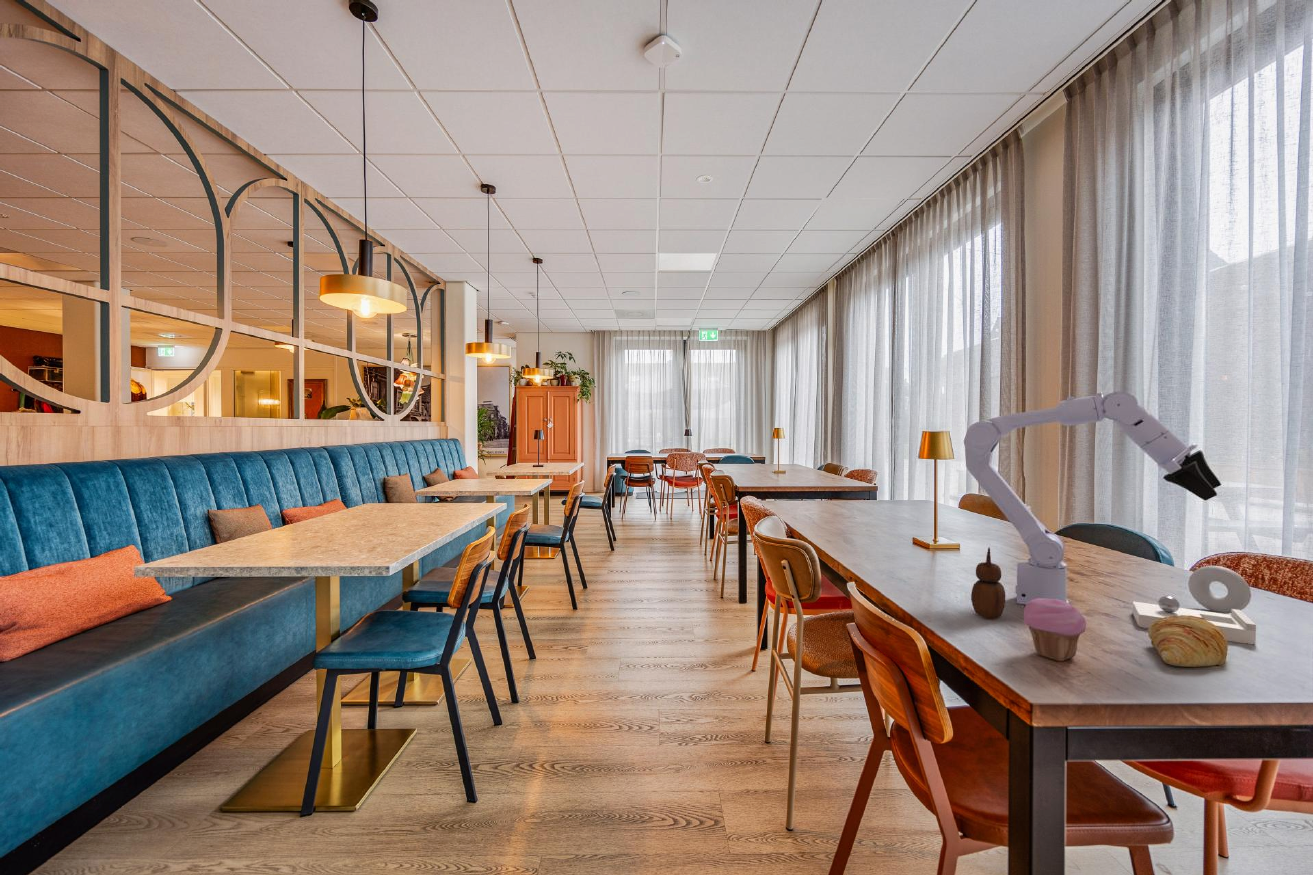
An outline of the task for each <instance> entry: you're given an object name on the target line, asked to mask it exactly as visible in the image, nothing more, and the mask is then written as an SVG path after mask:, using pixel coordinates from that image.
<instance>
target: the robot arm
mask: <svg viewBox="0 0 1313 875" xmlns="http://www.w3.org/2000/svg"><path fill="white" fill-rule="evenodd" d="M1105 419H1109V420H1111V421H1113V422H1114V423H1115V424H1116V425H1117V426H1118V427H1119V428H1120V429H1121V431H1122V433H1124V434H1125V435H1126V436H1127V437H1128V438H1129V439H1130V440H1131V441H1132V442H1134V443H1135V445H1136V446H1138V447H1139V448H1140V450H1142V451H1143V452H1144V453H1145V454H1147V456H1148V457H1150V458H1151V459H1152V460H1153V461H1154V462H1155V463H1156V464H1157V466H1158V467H1159V468H1160V469H1164V470H1165V471H1166V472H1167V474H1165V475H1163V480H1164V481H1166V482H1169V483H1172V484H1174V485H1177V486H1179V487H1181V488H1184V489H1185V490H1187V491H1189V492H1190V493H1192V494H1193V495H1194V496H1196V497H1198V498H1199V499H1201V500H1204V501H1208V500H1210V499H1212V498H1214V497H1216V496H1218V492H1216V490H1215V489H1216V488H1218V487H1220V486H1222V483H1221V481H1220V479H1219V478H1218V477H1217V476H1216V474H1215V473H1214V472H1213V470H1212V469H1211V468H1210V466H1209V465H1208V462H1207V460H1206V458H1205V455H1204V452H1203V451H1202V450H1197V451H1195V452H1194V453H1192V451H1193V450H1195V449H1197V447H1198V445H1197V444H1196V443H1192V444H1190V445H1187V444H1186V443H1184V442H1183V440H1181V439H1180V438H1179V437H1178V436H1176V434H1174V433H1173V432H1172V431H1171V430H1169V428H1167V426H1166V425H1164V424H1163V423H1162V422H1161V421H1160V420H1158V419H1157V418H1156V417H1155V416H1154V415H1153V414H1152V413H1150V412H1148V411H1147V410H1146V408H1144V407H1143V406H1141V405H1140V404H1139V402H1138V400H1137V398H1136V396H1135V395H1133V394H1130V393H1128V392H1125V391H1114V392H1113V391H1112V392H1109V393H1107V394H1105V395H1103V392H1096V394H1095V395H1090V396H1084V397H1077V398H1075V397H1074V396H1068V397H1066V400H1061V401H1059V402H1058V404H1057V405H1056V406H1055V407H1053V408H1046V409H1040V410H1032V411H1031V410H1030V411H1024V412H1017V413H1016V412H1015V413H1007V414H1003V415H1000V416H996V417H992V418H989V419H986V421H978V422H977V421H976V422H975V423H973V424H971V425H970V426H968V428H967V430H966V433H965V437H964V438H963V445H964V455H965V467H966V468H967V470H968V472H969V473H970V474H971V475H972V476H973V477H974V479H975V481H976V482H977V483H978V484H979V485H980V486H981V488H982V489H983V490H984V491H985V493H987V495H988V496H989V497H990V498H991V501H993V502H994V504H995V505H996V506H997V507H998V509H999V510H1000V511H1001V512H1002V514H1004V516H1005V517H1006V519H1007V520H1008V521H1009V522H1010V523H1011V524H1012V526H1013V527H1014V528H1015V529H1016V531H1017V532H1018V534H1019V536H1020V538H1021V539H1022V541H1023V542H1024V543H1025V545H1026V547H1027V549H1028V552H1029V556H1030V558H1028V559H1027V561H1025V562H1024V561H1017V564H1016V585H1015V594H1016V604H1019V605H1025V606H1026V605H1027V603H1028V602H1029V601H1031V600H1033V599H1038V598H1044V599H1058V600H1062V601H1065V602H1067V603H1069V600H1068V599H1067V598H1068V596H1067V595H1068V593H1067V591H1068V590H1067V586H1068V585H1067V584H1068V583H1067V582H1068V581H1067V579H1068V578H1067V576H1068V574H1067V573H1068V572H1067V569H1068V565H1067V563H1065V562H1064V561H1063V559H1064V557H1065V543H1064V541H1063V539H1062V538H1061V536H1059V535H1057V534H1056V533H1053V532H1051V531H1050V530H1049V529H1047V527H1046V526H1045V525H1044V524H1043V523H1042V522H1041V521H1039V520H1038V518H1037V517H1036V516H1035V515H1034V514H1033V512H1032V511H1031V510H1030V508H1028V507H1027V505H1026V504H1025V503H1024V502H1023V500H1021V498H1020V497H1019V496H1018V495H1017V493H1016V492H1015V491H1014V490H1013V489H1012V488H1011V486H1010V485H1009V484H1008V483H1007V481H1006V480H1005V479H1004V478H1003V477H1002V475H1001V474H1000V473H999V472H998V470H996V468H995V467H994V466H993V465H992V459H993V454H994V450H995V449H996V447H997V446H998V444H999V442H1000V440H1001V438H1002V436H1007V435H1009V434H1010V433H1012V432H1013V431H1014V430H1017V429H1020V428H1026V427H1031V426H1037V425H1038V426H1039V425H1042V424H1049V423H1055V422H1057V423H1059V424H1061V425H1063V426H1065V427H1071V426H1078V425H1086V424H1087V425H1088V424H1092V423H1098V422H1099V423H1101V422H1103V420H1105ZM1069 604H1070V603H1069Z"/></svg>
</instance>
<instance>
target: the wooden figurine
mask: <svg viewBox="0 0 1313 875" xmlns="http://www.w3.org/2000/svg"><path fill="white" fill-rule="evenodd" d="M991 559H992V558H991V547H989V546H988V547H987V552H986V557H985V562H979V563H978V564H977V565H976V568H975V576H976V578H977V579H978V580H977V581H975V583H974V584H973V585H972V589H971V594H970V598H971V599H970V600H971V604H972V608H973V610H974V612H975V614H976V615H977V616H978V617H981V618H983V619H988V620H994V619H995V620H996V619H1000V618H1001V617H1002V615H1003V613H1004V610H1005V607H1006V590H1005V587H1004V585H1003V584H1002V582H1000V580H1001V579H1002V569H1001V567H1000V566H999V565H998V564H996V563H992V560H991Z"/></svg>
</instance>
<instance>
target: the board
mask: <svg viewBox="0 0 1313 875" xmlns="http://www.w3.org/2000/svg"><path fill="white" fill-rule="evenodd" d="M1132 615H1133V616H1134V619H1135V621H1136V624H1137V626H1138V628H1145V629H1148V628H1149V626H1150V625H1151V624H1153V623H1154V622H1156V621H1157V620H1160V619H1162V618H1164V617H1170V616H1180V615H1186V616H1195V617H1201V618H1204V619H1205V620H1206V621H1208V622H1210V623H1213V624H1214V625H1215V626H1217V627H1218V628H1219V629H1220V630H1222V632H1223V633H1224V635H1225V637H1226V639H1227V642H1234V641H1235V642H1234V643H1240V644H1246V643H1248V644H1247V645H1253V644H1254V646H1256V645H1257V644H1256V643H1257V642H1256V639H1257V638H1256V636H1257V633H1256V632H1257V631H1256V630H1257V629H1256V628H1257V624H1256V623H1255V622H1253V621H1252V620H1251V619H1250V617H1248V616H1247V615H1246V614H1245V613H1244V612H1243V611H1242V610H1237V609H1231V613H1229V614H1226V613H1218V612H1214V611H1206V610H1201V609H1200V610H1198V609H1191V608H1185V607H1180V608H1179V610H1178V611H1176V612H1173V613H1169V612H1165V611H1163V610H1162V609H1161V608H1160V607H1159V605H1158V604H1155V603H1154V604H1153V603H1147V602H1140V601H1132Z"/></svg>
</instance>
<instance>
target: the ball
mask: <svg viewBox="0 0 1313 875" xmlns="http://www.w3.org/2000/svg"><path fill="white" fill-rule="evenodd" d="M1157 605H1159V607H1160V608H1161V609H1162V610H1163V611H1165V612H1169V613H1173V612H1176V611H1178V610H1179V608H1181V606H1180V602H1179V601H1178V600H1177V599H1176V598H1175V597H1173V596H1169V595H1165V596H1161V597H1160V598H1159V599H1158V601H1157Z"/></svg>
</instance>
